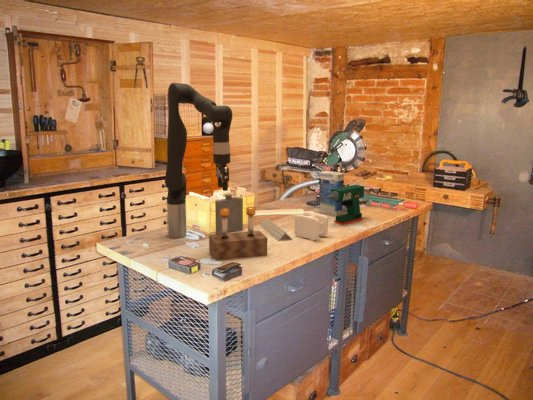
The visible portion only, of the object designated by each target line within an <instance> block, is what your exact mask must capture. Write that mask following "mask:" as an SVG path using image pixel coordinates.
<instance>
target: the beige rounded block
mask: <svg viewBox="0 0 533 400" xmlns="http://www.w3.org/2000/svg"><path fill="white" fill-rule="evenodd" d="M293 226H294V227H293V228H294V230H293V231H294V235H295V236H297V237H298V238H302V239H308V240H309V241H312V240H313V241H316V240H318V239H319V238H321V237H322V238H323V237H325V236H328V233H329V232H328V231H329V230H328V229H329V228H328V227H329V217H328V215H325V214H321V213H316V212H312V211H305V212H303V213H302V214H297V215H295V216H294V225H293ZM320 236H321V237H320Z"/></svg>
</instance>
